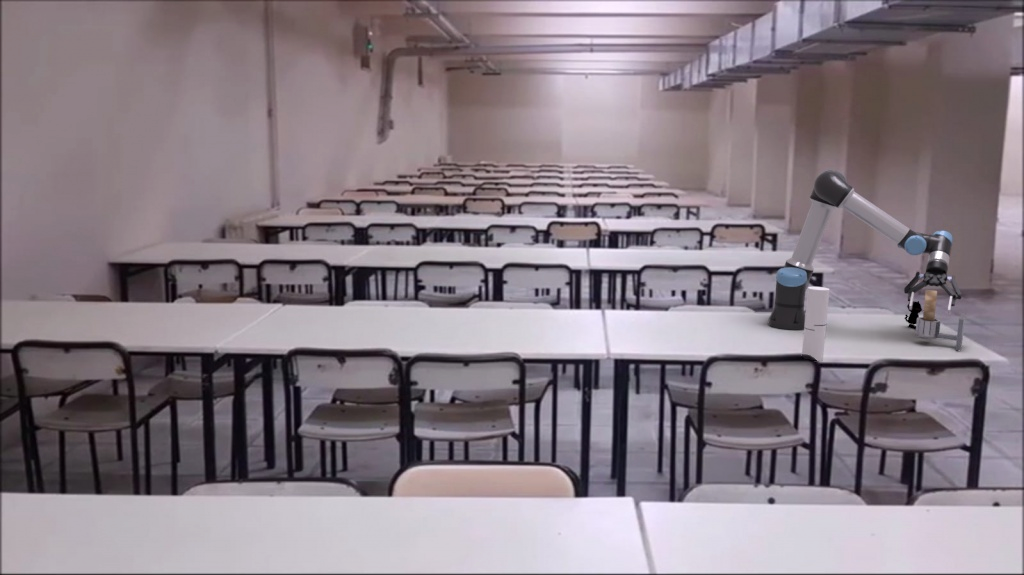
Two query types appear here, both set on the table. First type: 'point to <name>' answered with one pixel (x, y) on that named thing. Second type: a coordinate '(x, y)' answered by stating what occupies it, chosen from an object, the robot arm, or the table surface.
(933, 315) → the brown wooden block
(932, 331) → the cup bracket
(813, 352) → the cylindrical container
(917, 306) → the cat figurine
